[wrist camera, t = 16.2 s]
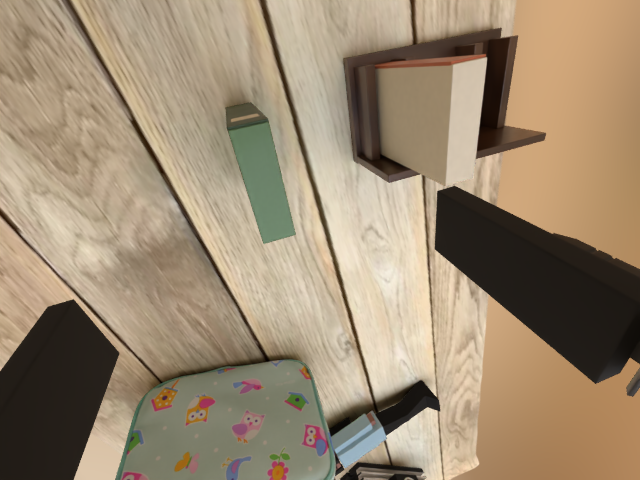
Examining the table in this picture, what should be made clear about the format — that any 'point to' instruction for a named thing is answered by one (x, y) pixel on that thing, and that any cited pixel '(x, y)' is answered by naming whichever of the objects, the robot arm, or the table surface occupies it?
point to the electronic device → (383, 472)
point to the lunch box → (231, 427)
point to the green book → (260, 171)
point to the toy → (377, 426)
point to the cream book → (432, 114)
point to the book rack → (485, 42)
